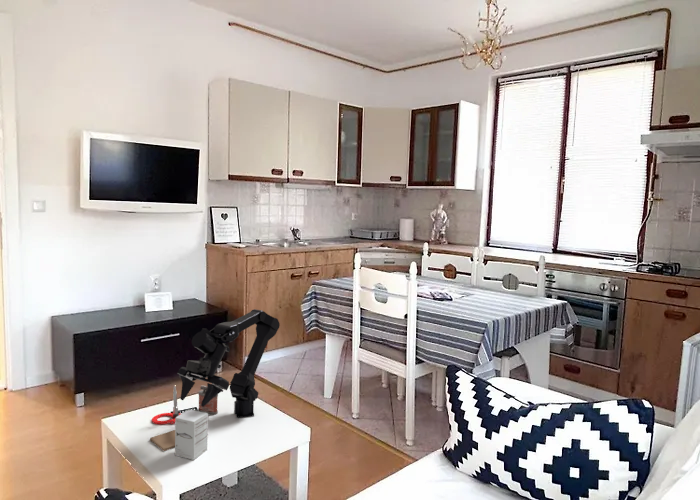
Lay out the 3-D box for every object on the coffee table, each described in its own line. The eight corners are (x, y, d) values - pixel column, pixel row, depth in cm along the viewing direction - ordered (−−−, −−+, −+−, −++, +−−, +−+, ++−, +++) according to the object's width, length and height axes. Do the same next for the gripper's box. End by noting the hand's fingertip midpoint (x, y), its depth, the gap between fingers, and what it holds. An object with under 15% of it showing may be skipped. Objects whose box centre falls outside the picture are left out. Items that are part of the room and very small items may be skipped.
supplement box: (174, 456, 155) (174, 417, 154) (189, 445, 162) (189, 408, 161) (193, 461, 153) (193, 421, 152) (208, 450, 160) (208, 412, 159)
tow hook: (147, 425, 176) (173, 425, 176) (146, 390, 175) (172, 390, 175) (158, 415, 185) (182, 415, 184) (156, 381, 184) (181, 382, 183)
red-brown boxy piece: (219, 412, 188) (220, 386, 187) (214, 415, 185) (214, 389, 184) (201, 408, 191) (201, 383, 190) (196, 411, 188) (196, 386, 187)
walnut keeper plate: (178, 430, 172) (178, 428, 172) (192, 441, 165) (192, 438, 165) (149, 440, 165) (149, 437, 165) (164, 451, 158) (164, 449, 158)
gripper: (178, 344, 168) (155, 389, 161) (220, 354, 160) (197, 402, 153) (198, 357, 177) (177, 399, 170) (238, 367, 168) (218, 412, 161)
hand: (191, 403), depth 163 cm, fingers open, 9 cm apart
